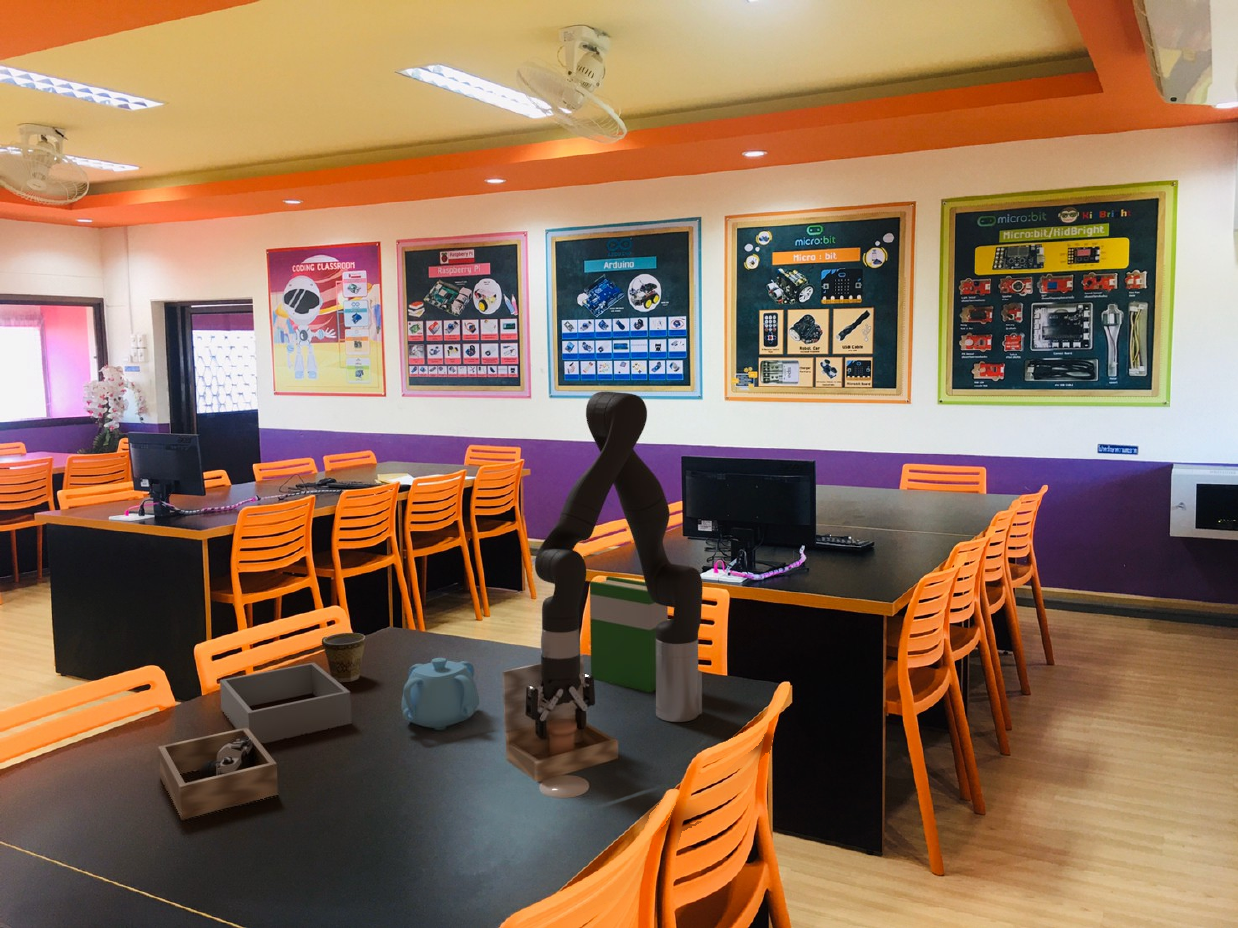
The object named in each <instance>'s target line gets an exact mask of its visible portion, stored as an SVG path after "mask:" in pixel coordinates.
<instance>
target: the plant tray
mask: <svg viewBox="0 0 1238 928" xmlns="http://www.w3.org/2000/svg"><path fill="white" fill-rule="evenodd" d="M219 685H220V686H219V687H220V702H221V704H220V707H221V708H220V709H221V711H222V713H223V712H224V713H223V714H224V715H225V716H227V717H226V718H227V719H228V718H229V719H228V720H229V722H230V723H231V724H232V725H233V727H234V728H235V730H237V729H242V728H246V727H247V728H248V729H249V730H250V732H251V733H252V734H253V735H254V737H255V738H256V739H257V740H258V741H259V743H260V744H261V743H264V744H268V743H272V742H276V741H281V740H284V738H286V739H289V738H294V737H298V736H302V735H301V734H303V735H306V734H305V733H307V734H311V733H315V732H321V731H323V730H329V729H333V728H337V726H338V727H342V726H347V725H350V724H353V723H352V702H351V691H350V690H349V689H347V688H346V687H344V686H343V685H342V683H341V682H337V681H336V680H335V679H334V678H333V677H331V674H329V673H327V671H326V670H324V669H323V668H322V667H320V666H319V665H318V664H316V662H310V663H304V664H299V665H293V666H289V667H284V668H283V667H282V668H277V669H271V670H267V671H262V672H261V671H260V672H255V673H251V674H246V675H239V676H234V677H228V678H224V679H220V680H219ZM310 694H311V695H312V694H313V696H315V697H312V698H306V699H302V700H297V701H292V702H287V703H282V704H278V705H273V706H269V707H263V708H259V709H254V710H252V709H251V708H250V707H251V706H252V707H253V706H258V705H262V704H266V703H272V702H276V701H281V700H286V699H290V698H296V697H300V696H306V695H310ZM328 728H329V729H328ZM261 745H262V744H261Z"/></svg>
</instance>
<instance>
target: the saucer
mask: <svg viewBox="0 0 1238 928" xmlns="http://www.w3.org/2000/svg"><path fill="white" fill-rule="evenodd" d="M538 788H539V789H538V790H539V791H540V793H542V794H543V795H545V796H547V797H550V798H554V799H555V798H556V799H569V798H575V797H578V796H581V795H583V794H585V793H587V791H588V790H589V789H590V783H589V782H588V781H587V779H585V778H583V777H581V776H577V775H571V774H569V775H568V774H567V775H566V774H563V775H560V776H554V777H551V778H548V779H546V780H543V781H541V782H540V783H539V787H538Z"/></svg>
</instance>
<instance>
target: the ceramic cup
mask: <svg viewBox="0 0 1238 928" xmlns="http://www.w3.org/2000/svg"><path fill="white" fill-rule="evenodd" d="M365 643H366V636H365V635H364V634H363V633H357V632H343V633H335V634H331V635H328V636H324V637H322V639H321V644H322V647H323V649H324V653H325V655H326V659H327V663H328V669H329V672H330V676H331V677H333V678H334V679H335V680H336V681H337V682H339V683H349V682H354V681H357V680H358V679H359V678H360V673H361V664H362V659H363V658H362V657H363V654H364V650H365V645H366V644H365Z"/></svg>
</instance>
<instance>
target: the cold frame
mask: <svg viewBox="0 0 1238 928" xmlns="http://www.w3.org/2000/svg"><path fill="white" fill-rule="evenodd" d="M584 661H585V660H584V654H583V653H580V674H579V677H581V676H582V675H583V674H584V673H585V671H584V669H585V668H584V666H585V664H584ZM541 683H542V676H541V662H538V663H535V664H531V665H530V664H529V665H525V666H520V667H516V668H511V669H506V670H503V671H502V686H503V687H502V692H503V693H502V697H503V732H504V733H505V753H506V755H505V757H506V761H507V762H508V763H509V764H511V765H512V766H514V767H515V768H517V769H518V770H520V771H521V772H522V773H524V774H525V775H527V776H528V778H531V779H532V780H533V781H535V782H537V783H541V782H543V781H544V780H546V779H548V778H551V777H554V776H560V775H566V774H567V775H568V774H570V773H573V772H576V771H579V770H583V769H587V768H590V767H593V766H596V765H601V764H604V763H606V762H610V761H613V760H616V759H619V740H617V739H616V738H614V737H612V736H611V735H609V734H607V733H606V732H603V731H602V730H600V729H598V728H596V727H594V726H593V725H591V724H589V723H588V713H587V712H586V725H585V726H584V729H582V730H579V729H578V728H577V731H576V732H575V733H574V746H575V750H574V751H570V752H567V753H563V754H560V755H556V756H553V757H550V739H549V733H548V732H547V723H548V722H549V721H551V720H554V719H561V718H565V719H571V720H574V721H575V709H576V708H577V707H576V706H575V705H574V703H573V702H572V701H570V703H562V704H561V705H555V706H554V708H553V709H552V711H550V712H549V713H548V715H547V717H546V718H545V720H546V739H543V740H542V739H540V738H539V737H538V736H537V735H536V733H535V720H533V719H531V718H530V717H528V716H526V714H525V710H526V689H527V686H528V685H531V686H533V687H534V686H540V685H541ZM577 692H578V694H579V695H580V696H581V697H582V699H583V686H582V685H580V687H579V689H578V691H577ZM542 696H543V693H542V692H541V693H540V697H539V698H538V703H539V701H540V699H541V697H542ZM548 703H549V701H548V700H547V702H546V704H548ZM538 705H539V704H538Z"/></svg>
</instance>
